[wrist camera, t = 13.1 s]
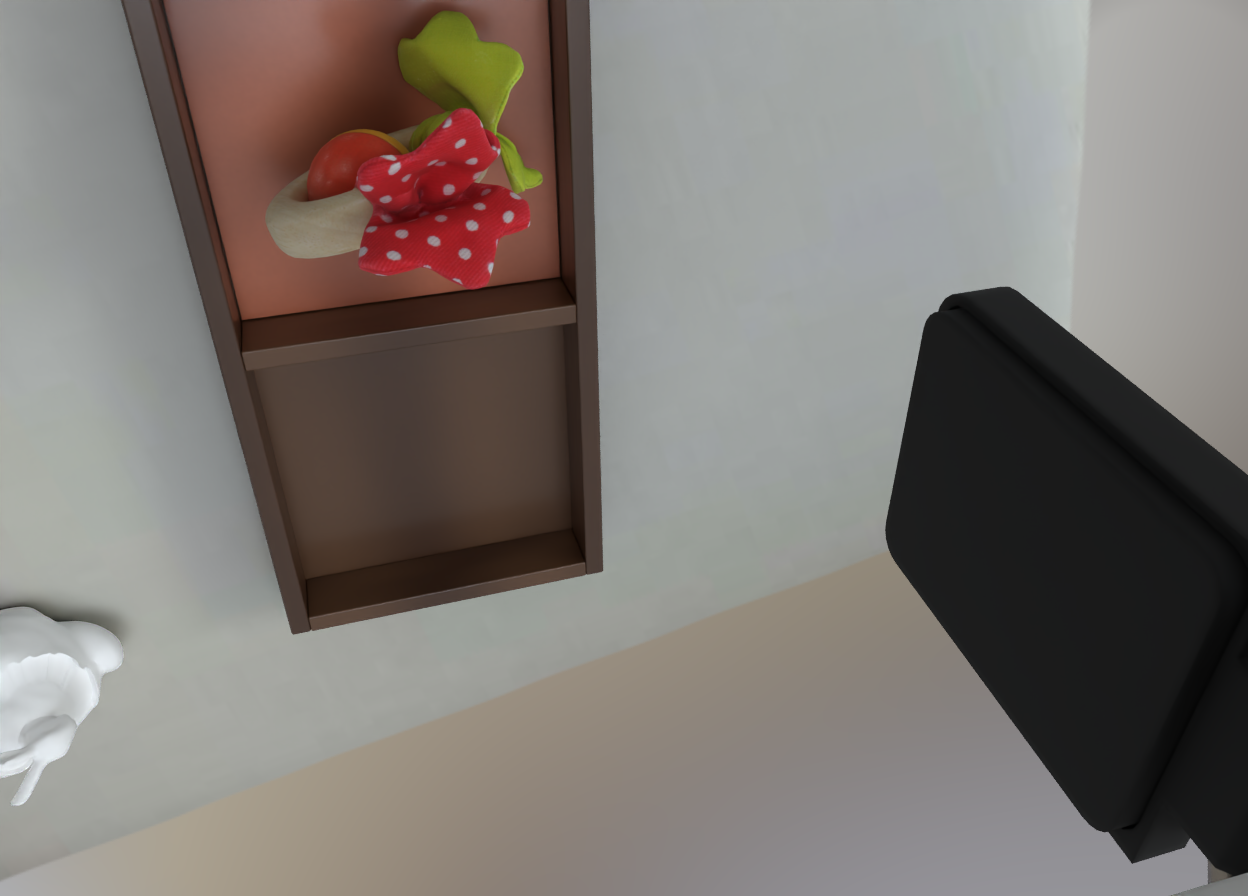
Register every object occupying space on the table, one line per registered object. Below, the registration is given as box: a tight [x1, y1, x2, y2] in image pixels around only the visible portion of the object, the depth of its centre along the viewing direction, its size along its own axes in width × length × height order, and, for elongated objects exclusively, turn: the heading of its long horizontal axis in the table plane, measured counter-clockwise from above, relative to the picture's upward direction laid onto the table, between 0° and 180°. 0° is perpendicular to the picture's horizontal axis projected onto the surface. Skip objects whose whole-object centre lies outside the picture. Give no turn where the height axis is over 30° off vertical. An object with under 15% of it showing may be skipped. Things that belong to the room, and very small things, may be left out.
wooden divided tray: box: [121, 0, 603, 634], centre depth 39 cm, size 14×26×3 cm, turn 0°
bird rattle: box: [265, 11, 543, 290], centre depth 32 cm, size 6×11×9 cm
